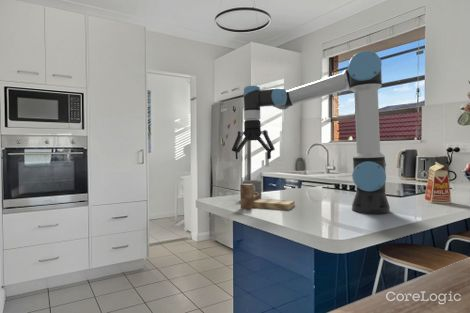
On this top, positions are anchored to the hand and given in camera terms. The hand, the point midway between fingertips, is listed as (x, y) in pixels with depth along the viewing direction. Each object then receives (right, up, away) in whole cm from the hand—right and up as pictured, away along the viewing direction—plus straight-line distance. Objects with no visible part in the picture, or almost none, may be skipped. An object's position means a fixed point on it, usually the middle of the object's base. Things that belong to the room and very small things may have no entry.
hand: (253, 166), depth 149 cm
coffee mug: (0, -19, +21) cm, 28 cm away
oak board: (+8, -19, +4) cm, 21 cm away
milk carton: (+93, -18, +12) cm, 95 cm away
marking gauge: (0, -19, +5) cm, 20 cm away
